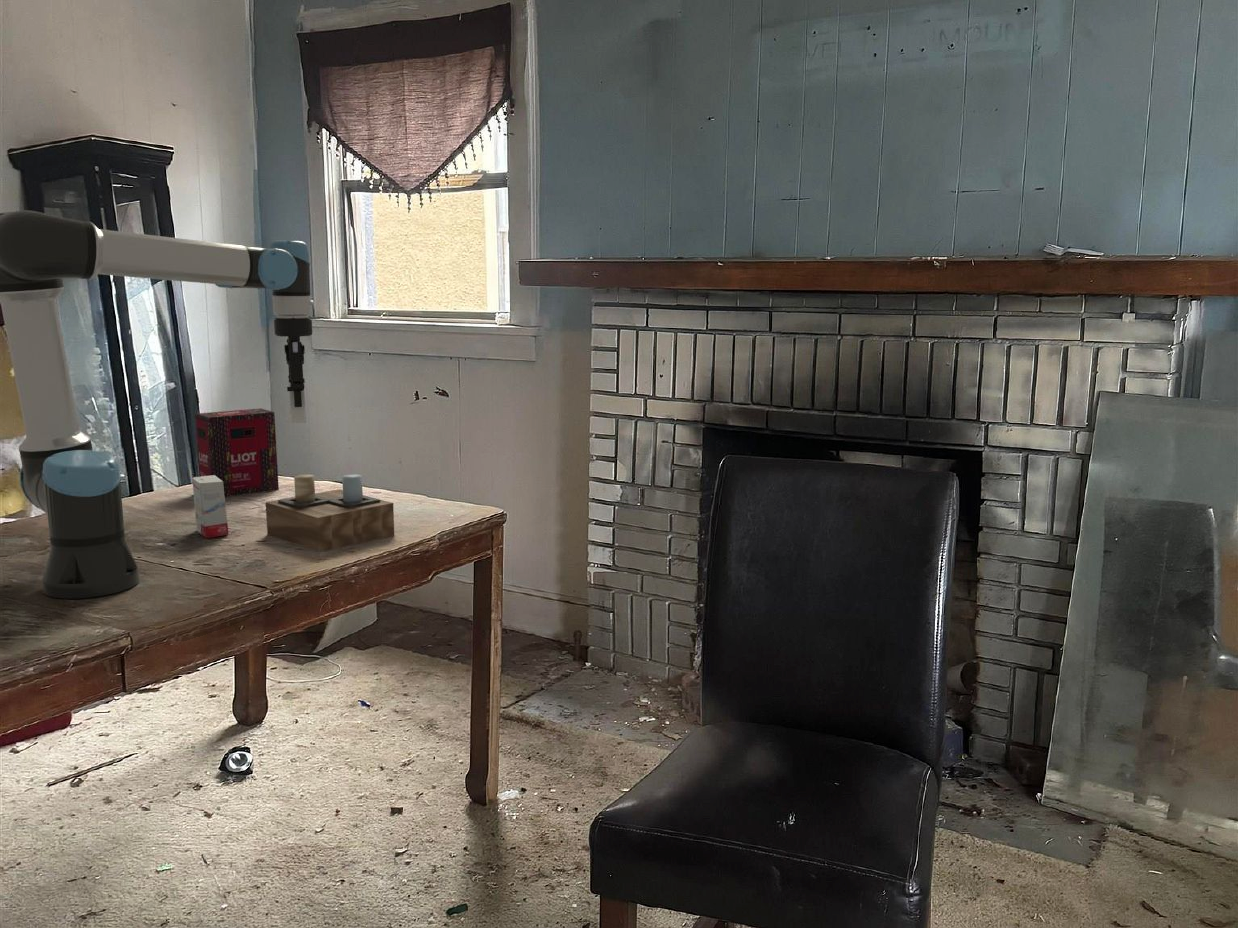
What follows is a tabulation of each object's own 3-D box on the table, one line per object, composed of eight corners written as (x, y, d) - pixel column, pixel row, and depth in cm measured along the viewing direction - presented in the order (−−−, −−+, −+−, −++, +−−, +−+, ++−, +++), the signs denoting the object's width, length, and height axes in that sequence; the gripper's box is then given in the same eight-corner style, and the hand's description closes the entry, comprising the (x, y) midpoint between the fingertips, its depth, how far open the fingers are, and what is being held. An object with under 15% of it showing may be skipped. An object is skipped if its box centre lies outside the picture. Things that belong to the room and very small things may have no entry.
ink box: (229, 536, 214) (225, 481, 212) (203, 539, 211) (199, 483, 209) (219, 527, 221) (216, 474, 219) (195, 530, 218) (191, 476, 216)
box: (265, 484, 266) (260, 408, 262) (278, 489, 259) (274, 412, 255) (200, 492, 255) (195, 413, 252) (212, 498, 249) (207, 417, 245)
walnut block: (319, 551, 202) (317, 514, 201) (267, 534, 215) (265, 499, 214) (394, 535, 215) (393, 500, 214) (341, 519, 228) (339, 486, 227)
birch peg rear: (302, 514, 211) (300, 479, 210) (292, 511, 214) (290, 476, 213) (319, 511, 214) (317, 476, 213) (309, 508, 217) (307, 473, 215)
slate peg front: (350, 514, 212) (349, 479, 210) (340, 511, 214) (338, 476, 213) (367, 511, 215) (365, 476, 213) (356, 508, 217) (354, 473, 216)
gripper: (314, 319, 200) (319, 425, 204) (309, 314, 224) (313, 410, 227) (274, 319, 198) (279, 427, 202) (273, 314, 221) (278, 411, 225)
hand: (297, 418), depth 215 cm, fingers open, 13 cm apart
